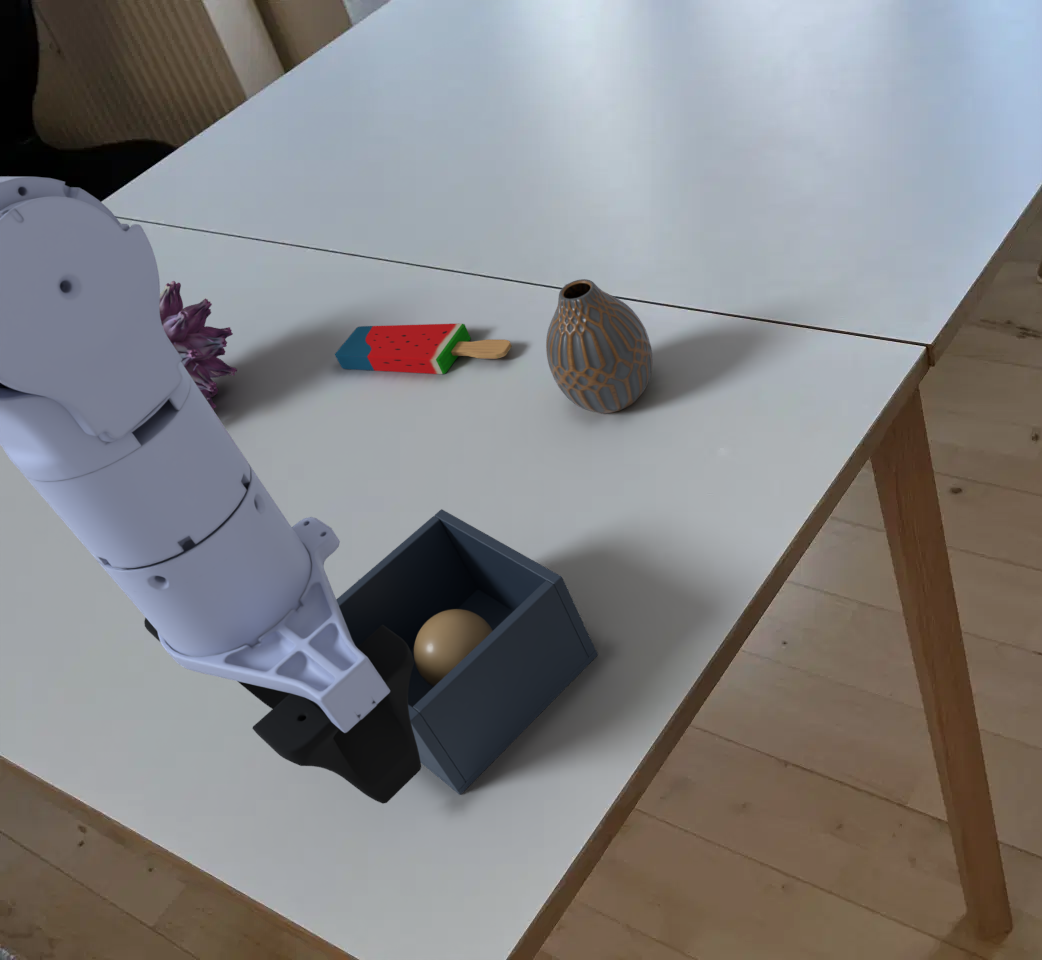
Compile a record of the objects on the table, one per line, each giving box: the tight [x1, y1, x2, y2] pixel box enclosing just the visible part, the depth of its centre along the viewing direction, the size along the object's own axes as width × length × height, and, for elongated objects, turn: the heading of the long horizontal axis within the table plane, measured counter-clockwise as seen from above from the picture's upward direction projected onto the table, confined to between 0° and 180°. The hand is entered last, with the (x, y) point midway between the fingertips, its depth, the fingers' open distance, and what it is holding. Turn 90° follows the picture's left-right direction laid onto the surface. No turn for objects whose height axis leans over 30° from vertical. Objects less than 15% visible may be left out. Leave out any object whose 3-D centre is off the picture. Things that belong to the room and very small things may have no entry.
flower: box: [159, 280, 238, 411], centre depth 86 cm, size 12×12×12 cm
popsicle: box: [334, 322, 513, 375], centre depth 86 cm, size 4×2×15 cm
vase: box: [545, 278, 653, 414], centre depth 73 cm, size 7×7×9 cm
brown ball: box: [414, 609, 493, 687], centre depth 59 cm, size 4×4×4 cm
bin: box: [336, 508, 599, 796], centre depth 58 cm, size 10×10×6 cm
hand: (346, 736), depth 46 cm, fingers open, 7 cm apart
